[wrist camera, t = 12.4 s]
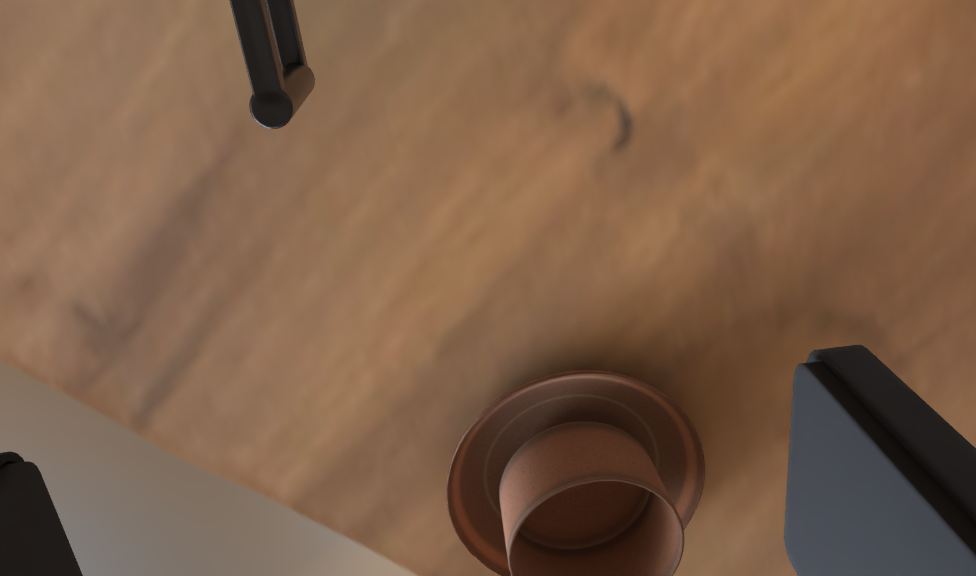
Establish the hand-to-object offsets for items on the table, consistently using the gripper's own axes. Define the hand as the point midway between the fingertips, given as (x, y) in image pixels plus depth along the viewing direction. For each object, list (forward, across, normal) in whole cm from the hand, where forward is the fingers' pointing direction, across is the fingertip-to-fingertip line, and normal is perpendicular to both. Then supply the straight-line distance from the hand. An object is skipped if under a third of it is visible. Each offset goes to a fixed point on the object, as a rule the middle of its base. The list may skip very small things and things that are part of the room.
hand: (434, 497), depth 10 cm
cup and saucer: (+23, -4, +17) cm, 29 cm away
